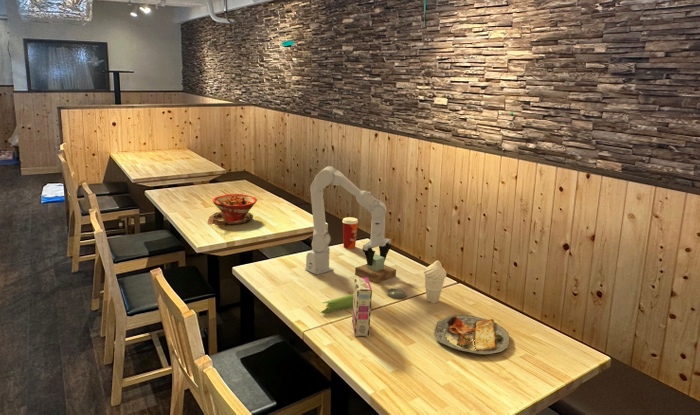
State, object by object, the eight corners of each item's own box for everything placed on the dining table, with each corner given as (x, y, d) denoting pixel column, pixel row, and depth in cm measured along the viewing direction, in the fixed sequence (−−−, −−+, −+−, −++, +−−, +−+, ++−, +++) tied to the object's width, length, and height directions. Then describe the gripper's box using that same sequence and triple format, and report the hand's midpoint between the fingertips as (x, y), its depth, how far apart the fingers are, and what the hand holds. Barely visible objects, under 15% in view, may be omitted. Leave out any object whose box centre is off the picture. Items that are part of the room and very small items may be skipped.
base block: (375, 283, 215) (376, 276, 214) (355, 274, 223) (355, 267, 222) (395, 276, 223) (396, 269, 222) (375, 267, 231) (375, 261, 230)
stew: (229, 231, 274) (229, 200, 270) (197, 222, 286) (196, 193, 282) (266, 219, 297) (266, 191, 293) (235, 212, 309) (235, 185, 305)
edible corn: (371, 295, 193) (364, 287, 196) (321, 307, 183) (316, 299, 187) (368, 306, 196) (362, 298, 199) (320, 318, 186) (314, 310, 189)
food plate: (440, 315, 189) (441, 306, 188) (508, 327, 182) (509, 317, 181) (429, 351, 165) (430, 341, 164) (507, 366, 159) (508, 355, 158)
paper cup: (355, 250, 252) (356, 222, 249) (339, 248, 254) (340, 220, 250) (358, 245, 260) (359, 217, 256) (343, 243, 261) (344, 216, 257)
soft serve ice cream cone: (430, 306, 195) (433, 265, 191) (417, 298, 202) (420, 258, 198) (448, 303, 199) (452, 262, 195) (435, 294, 206) (438, 255, 202)
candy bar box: (370, 337, 171) (372, 290, 167) (354, 337, 171) (356, 290, 167) (366, 321, 182) (368, 276, 178) (351, 321, 182) (353, 276, 177)
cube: (375, 271, 219) (376, 260, 218) (366, 267, 222) (367, 256, 221) (383, 268, 222) (384, 257, 221) (375, 265, 226) (375, 254, 224)
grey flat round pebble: (397, 301, 200) (397, 297, 199) (383, 295, 204) (383, 291, 204) (409, 296, 204) (409, 292, 204) (395, 290, 209) (395, 287, 209)
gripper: (372, 237, 210) (370, 269, 214) (396, 231, 220) (394, 262, 224) (359, 233, 215) (358, 264, 219) (384, 227, 225) (382, 257, 228)
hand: (376, 263), depth 221 cm, fingers open, 7 cm apart
